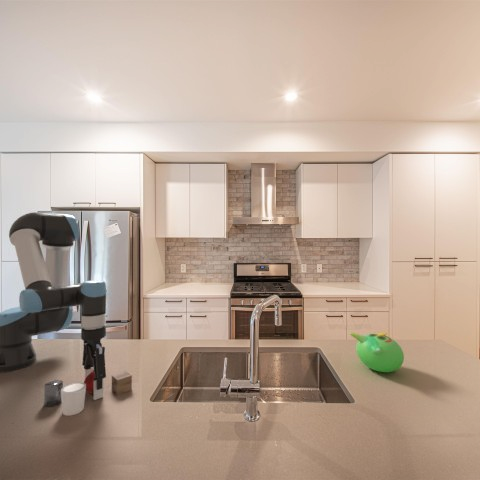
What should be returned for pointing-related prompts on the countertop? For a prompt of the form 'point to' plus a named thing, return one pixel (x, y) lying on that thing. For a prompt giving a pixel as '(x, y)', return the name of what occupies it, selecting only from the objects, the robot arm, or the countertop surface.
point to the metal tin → (52, 393)
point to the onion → (90, 382)
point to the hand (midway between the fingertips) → (93, 392)
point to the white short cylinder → (73, 398)
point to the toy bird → (379, 352)
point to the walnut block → (121, 382)
